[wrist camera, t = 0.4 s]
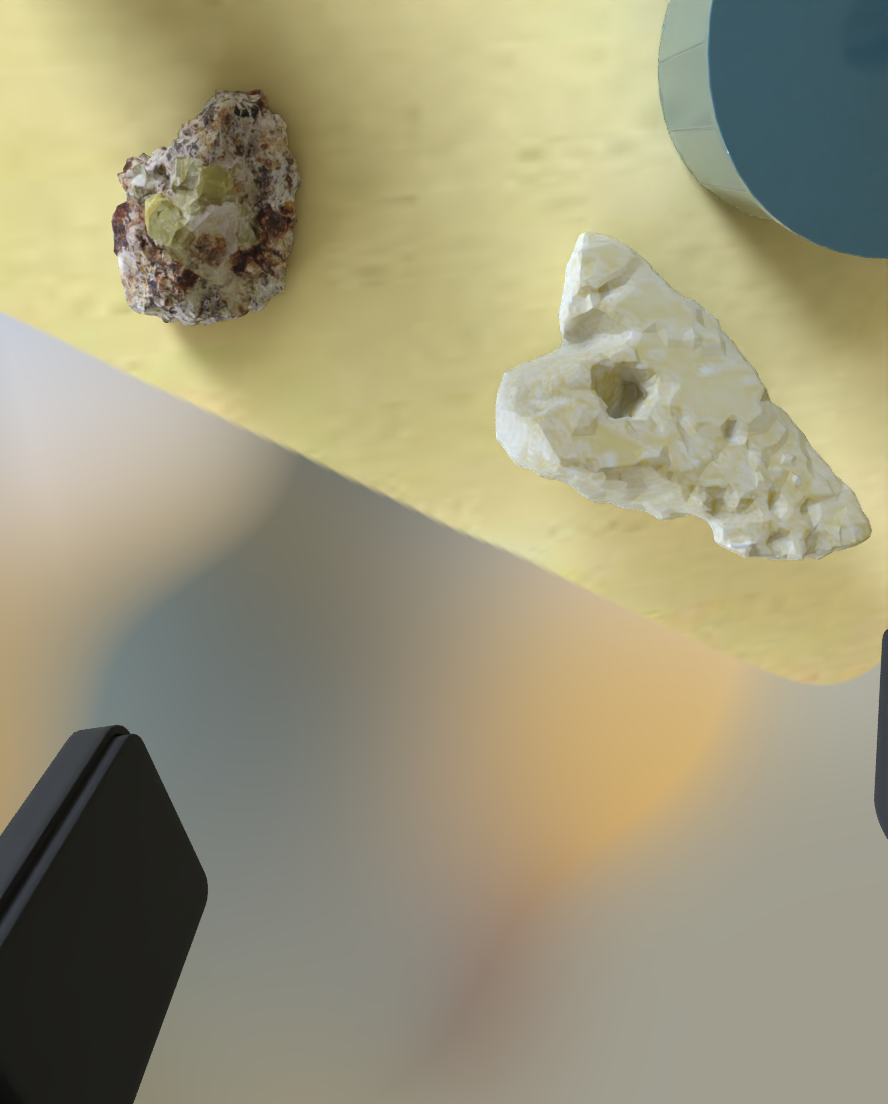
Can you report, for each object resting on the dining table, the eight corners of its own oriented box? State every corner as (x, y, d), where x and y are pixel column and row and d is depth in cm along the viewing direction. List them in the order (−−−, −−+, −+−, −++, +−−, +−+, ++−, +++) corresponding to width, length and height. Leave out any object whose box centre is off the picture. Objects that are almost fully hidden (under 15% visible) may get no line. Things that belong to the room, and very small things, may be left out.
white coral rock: (445, 315, 39) (492, 615, 36) (486, 220, 32) (549, 580, 29) (716, 313, 43) (781, 583, 40) (805, 228, 36) (893, 546, 33)
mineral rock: (241, 380, 37) (62, 289, 33) (241, 348, 40) (79, 262, 37) (361, 163, 33) (172, 33, 29) (349, 149, 36) (180, 31, 33)
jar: (797, -237, 28) (933, -402, 20) (1058, -30, 30) (1279, -97, 22) (597, 118, 33) (636, 109, 25) (833, 272, 36) (942, 311, 27)
